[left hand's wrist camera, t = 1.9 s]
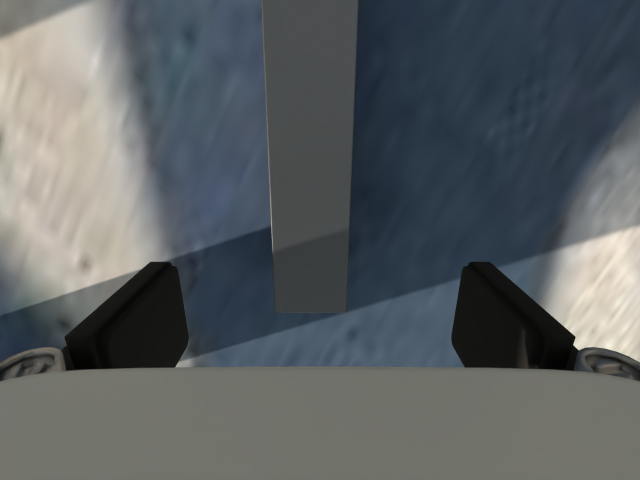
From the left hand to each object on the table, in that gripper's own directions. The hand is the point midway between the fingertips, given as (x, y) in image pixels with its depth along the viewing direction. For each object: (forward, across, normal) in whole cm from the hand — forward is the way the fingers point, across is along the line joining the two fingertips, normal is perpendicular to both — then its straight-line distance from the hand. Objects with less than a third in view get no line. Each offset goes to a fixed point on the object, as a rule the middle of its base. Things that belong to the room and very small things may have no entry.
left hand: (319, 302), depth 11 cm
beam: (+16, 0, -33) cm, 36 cm away
